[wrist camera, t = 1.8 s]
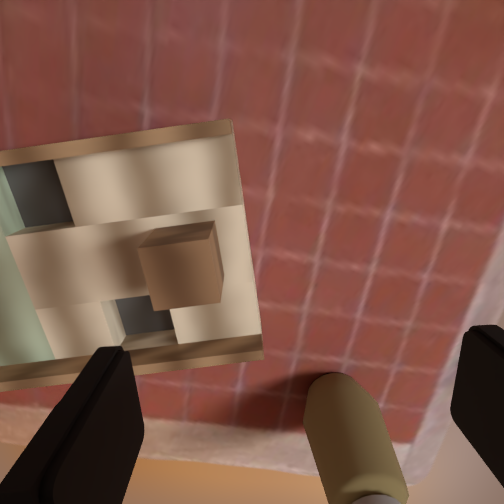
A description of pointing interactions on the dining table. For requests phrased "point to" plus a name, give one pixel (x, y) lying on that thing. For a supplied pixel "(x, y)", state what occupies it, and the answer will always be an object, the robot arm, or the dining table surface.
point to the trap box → (118, 253)
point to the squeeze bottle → (351, 444)
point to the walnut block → (183, 266)
